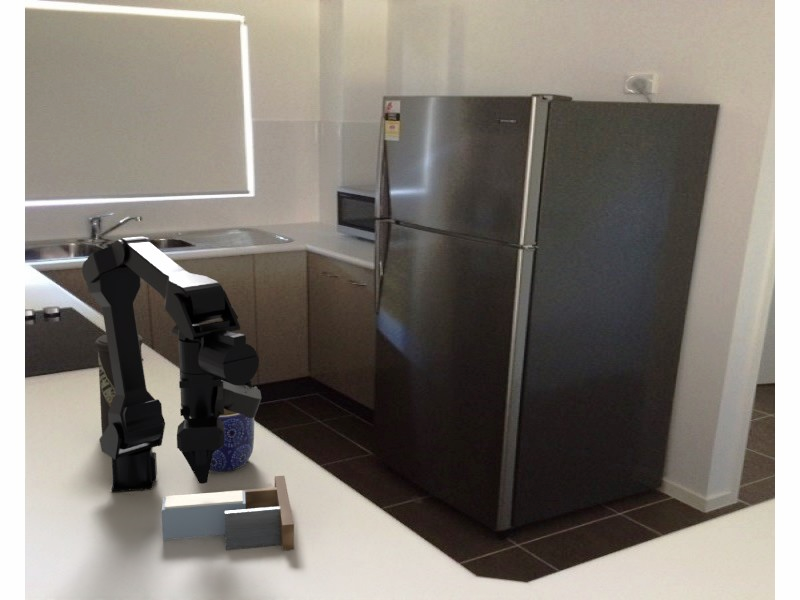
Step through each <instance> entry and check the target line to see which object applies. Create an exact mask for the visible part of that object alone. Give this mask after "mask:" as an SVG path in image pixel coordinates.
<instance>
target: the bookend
mask: <svg viewBox="0 0 800 600" xmlns="http://www.w3.org/2000/svg"><path fill="white" fill-rule="evenodd" d="M224 536H225V550H226V551H230V550H232V551H233V550H240V549H241V550H242V549H243V550H244V549H251V548H263V547H274V546H282V540H281V530H280V506H277V507H265V508H253V509H242V510H230V511H225V535H224Z"/></svg>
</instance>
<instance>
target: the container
mask: <svg viewBox="0 0 800 600" xmlns="http://www.w3.org/2000/svg"><path fill="white" fill-rule="evenodd" d="M138 337H139V344H140V350H141V351H142V344H143V343H144V340H143V339H144V338H143V336H141V335H140V334H139V333H138ZM94 345H95V347H96V349H97V359H98V360H97V361H98V378H99V400H100V423H101V425H100V426H101V436H102V435H103V433H104V432H105V430H106V429H107V427H108V425H109V420H108V411H109V409H110V406H111V404H112V402H113V399H114V397H115V387H114V380H113V374H112V368H111V361H110V355H109V349H108V342H107V336H106V333H105V334H103V335H101V336H99V337H98V338H97V339H96V340H95V342H94ZM141 357H142V358H143V356H142V352H141Z"/></svg>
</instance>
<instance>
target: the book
mask: <svg viewBox="0 0 800 600" xmlns="http://www.w3.org/2000/svg"><path fill="white" fill-rule="evenodd" d="M228 491H229V492H225V491H218V492H206V493H205V492H203V493H192V494H190V493H189V494H177V495H176V494H175V495H165V496H164V497H163V501H162V504H161V505H162V506H161V526H162V527H161V528H162V540H163V541H165V540H166V541H167V540H178V539H191V538H201V537H202V538H203V537H212V536H213V537H215V536H225V511H230V510H242V509H246V503H245V491H235V490H228Z"/></svg>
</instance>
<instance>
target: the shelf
mask: <svg viewBox="0 0 800 600" xmlns="http://www.w3.org/2000/svg"><path fill="white" fill-rule="evenodd" d="M229 491H230V490H225V491H224V492H229ZM234 491H245V503H246V509H253V508H265V507H277V506H280V530H281V540H282V545H281V548H282V551H291V550H294V548H295V545H294V544H295V543H294V542H295V539H294V538H295V537H294V536H295V532H294V531H295V530H294V528H295V527H294V525H295V523H294V519H293V514H292V509H291V507H292V506H291V502H290V498H289V492H288V488H287V482H286V477H285V475H274V487H262V488H251V489H250V488H249V489H237V490H235V489H234Z"/></svg>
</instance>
